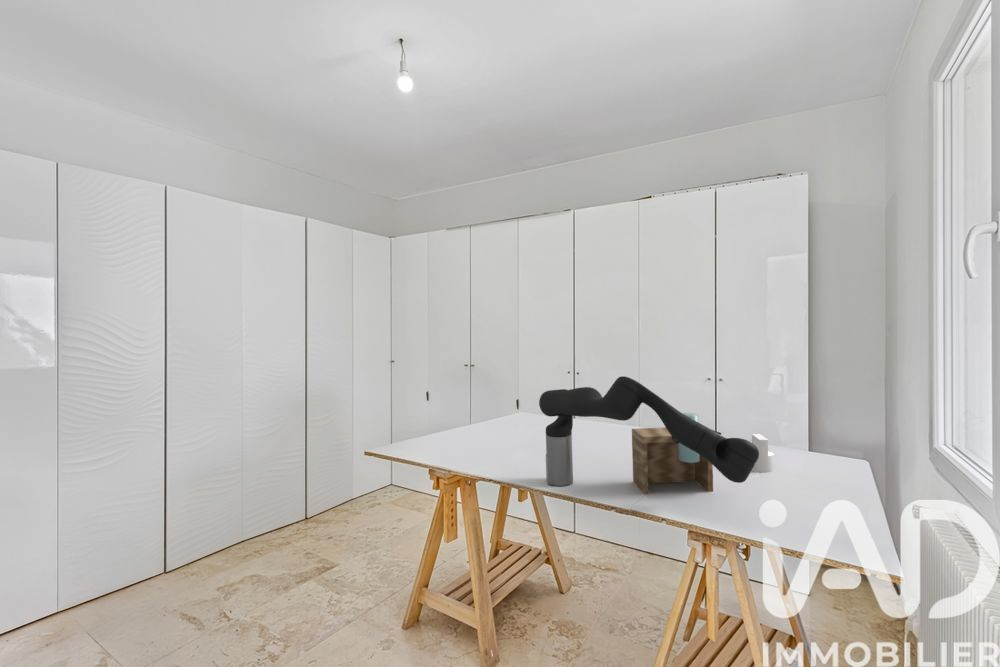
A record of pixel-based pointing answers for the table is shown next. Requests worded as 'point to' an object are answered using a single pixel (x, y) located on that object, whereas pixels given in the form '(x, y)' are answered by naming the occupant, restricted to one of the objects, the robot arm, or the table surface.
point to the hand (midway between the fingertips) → (685, 430)
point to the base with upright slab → (763, 454)
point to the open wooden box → (664, 461)
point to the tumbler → (685, 452)
